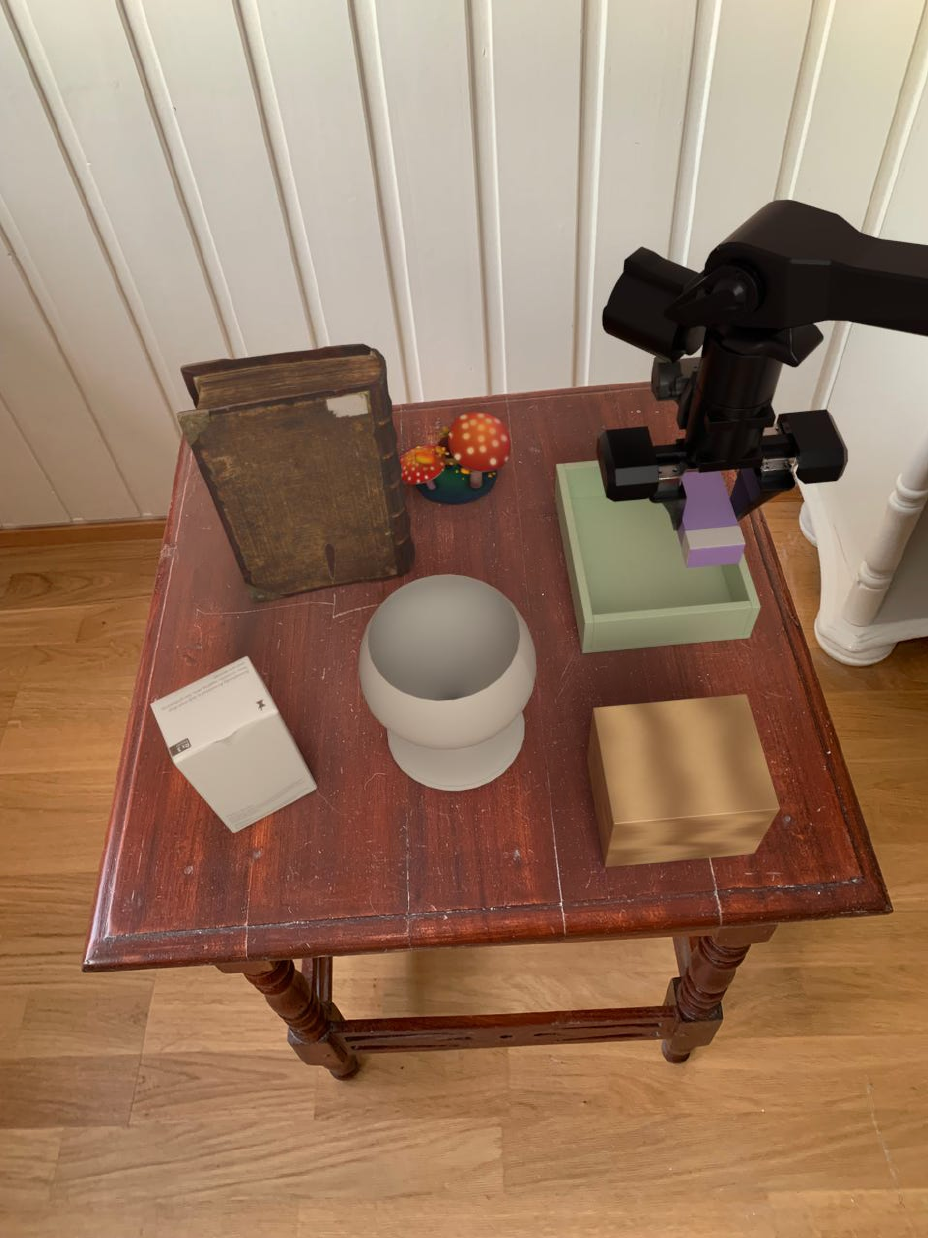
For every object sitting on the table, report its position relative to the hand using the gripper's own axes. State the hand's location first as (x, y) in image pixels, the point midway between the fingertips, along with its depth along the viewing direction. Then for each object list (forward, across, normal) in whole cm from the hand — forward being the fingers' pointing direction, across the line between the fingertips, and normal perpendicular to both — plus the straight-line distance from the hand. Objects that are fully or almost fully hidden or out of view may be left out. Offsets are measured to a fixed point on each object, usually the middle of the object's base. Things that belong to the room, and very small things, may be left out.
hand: (702, 524), depth 78 cm
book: (+10, +34, -7) cm, 36 cm away
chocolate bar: (0, 0, 0) cm, 0 cm away
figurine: (+10, +21, -19) cm, 30 cm away
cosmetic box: (+10, +40, +16) cm, 44 cm away
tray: (+10, +3, -4) cm, 11 cm away
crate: (+10, +6, +21) cm, 24 cm away
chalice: (+10, +23, +12) cm, 28 cm away
